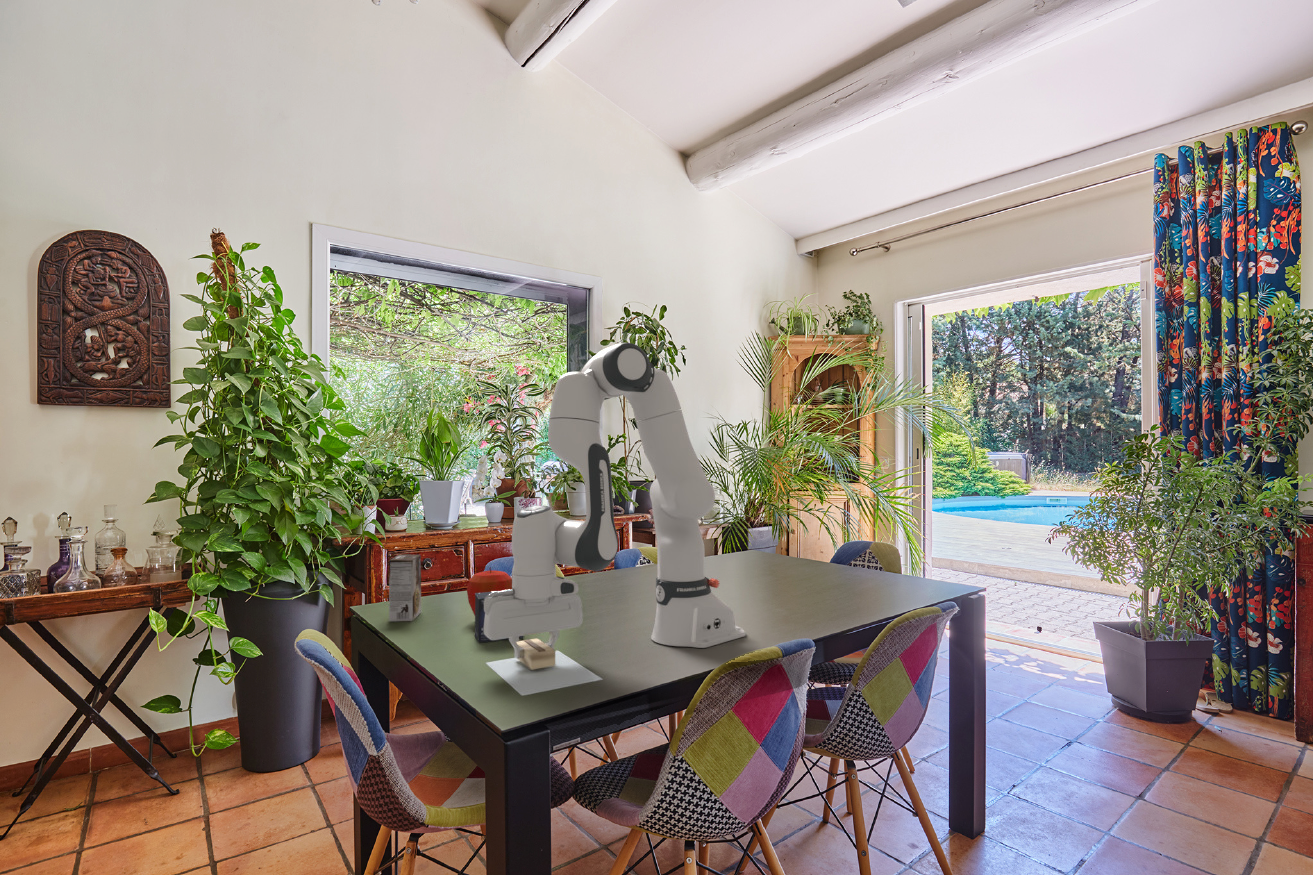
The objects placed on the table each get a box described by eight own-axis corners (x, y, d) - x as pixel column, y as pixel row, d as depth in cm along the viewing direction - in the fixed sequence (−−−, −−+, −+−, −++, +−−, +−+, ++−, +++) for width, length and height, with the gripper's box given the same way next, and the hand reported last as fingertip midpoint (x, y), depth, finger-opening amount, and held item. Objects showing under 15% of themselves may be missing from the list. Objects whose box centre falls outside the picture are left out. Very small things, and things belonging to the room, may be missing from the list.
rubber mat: (557, 653, 147) (557, 650, 147) (602, 682, 128) (602, 679, 128) (485, 665, 139) (485, 662, 139) (522, 698, 120) (522, 695, 120)
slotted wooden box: (555, 665, 134) (555, 649, 134) (531, 669, 132) (531, 653, 132) (537, 652, 143) (537, 637, 143) (514, 656, 140) (514, 640, 140)
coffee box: (397, 613, 185) (397, 554, 185) (421, 612, 185) (421, 553, 186) (388, 621, 176) (387, 559, 176) (413, 621, 176) (413, 559, 177)
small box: (478, 644, 155) (478, 598, 155) (474, 637, 161) (473, 592, 161) (524, 638, 159) (524, 593, 159) (518, 631, 165) (518, 588, 165)
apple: (515, 625, 171) (514, 569, 171) (465, 629, 168) (465, 572, 168) (513, 614, 183) (513, 562, 183) (468, 617, 180) (467, 564, 180)
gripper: (488, 595, 129) (488, 667, 129) (585, 583, 140) (586, 650, 140) (479, 589, 135) (479, 659, 135) (573, 578, 145) (573, 643, 145)
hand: (534, 654), depth 137 cm, fingers closed on slotted wooden box, 5 cm apart
